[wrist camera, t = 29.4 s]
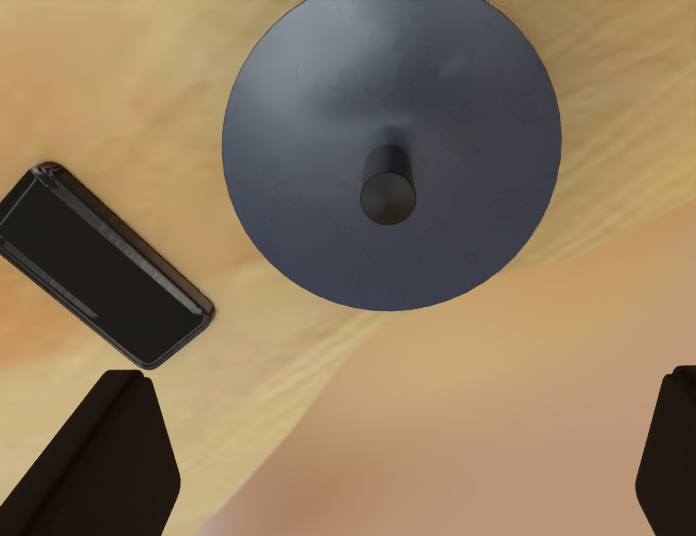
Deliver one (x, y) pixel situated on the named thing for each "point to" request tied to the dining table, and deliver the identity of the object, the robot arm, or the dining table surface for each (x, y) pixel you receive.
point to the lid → (391, 148)
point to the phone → (99, 267)
